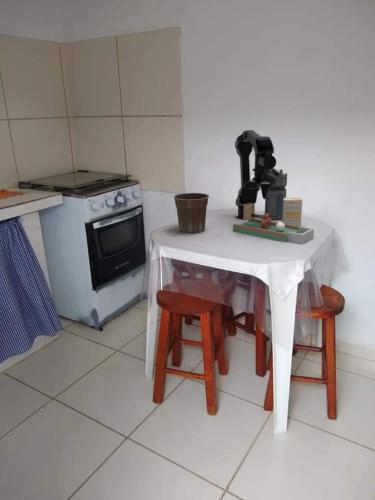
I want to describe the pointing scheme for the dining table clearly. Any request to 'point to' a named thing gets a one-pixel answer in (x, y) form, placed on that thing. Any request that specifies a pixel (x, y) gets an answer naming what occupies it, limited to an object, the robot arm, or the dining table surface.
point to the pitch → (275, 231)
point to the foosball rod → (256, 215)
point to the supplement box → (292, 211)
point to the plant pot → (191, 211)
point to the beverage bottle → (276, 196)
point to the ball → (280, 226)
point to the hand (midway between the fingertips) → (259, 200)
